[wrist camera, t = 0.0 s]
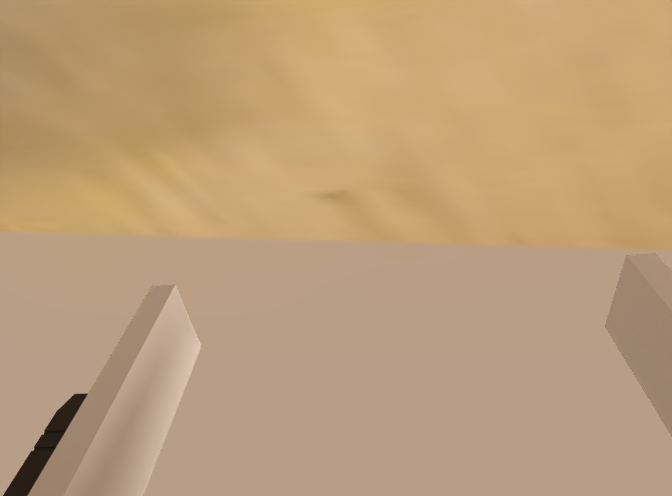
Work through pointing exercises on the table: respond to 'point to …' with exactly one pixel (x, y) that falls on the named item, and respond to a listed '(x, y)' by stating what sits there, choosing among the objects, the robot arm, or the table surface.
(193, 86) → the table surface
